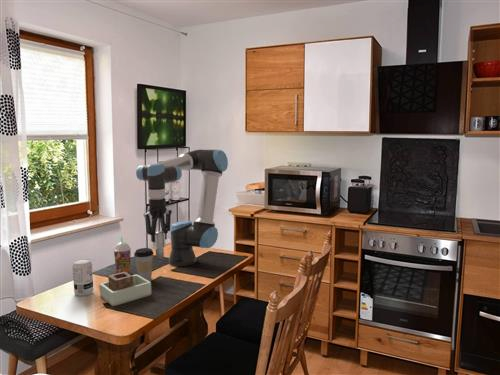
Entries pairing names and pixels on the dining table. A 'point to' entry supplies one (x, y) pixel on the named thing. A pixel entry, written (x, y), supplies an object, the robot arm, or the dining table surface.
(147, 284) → the crate
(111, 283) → the socket block
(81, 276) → the supplement can
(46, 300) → the dining table surface
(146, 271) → the coffee cup
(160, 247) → the steel peg
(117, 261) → the smoothie
